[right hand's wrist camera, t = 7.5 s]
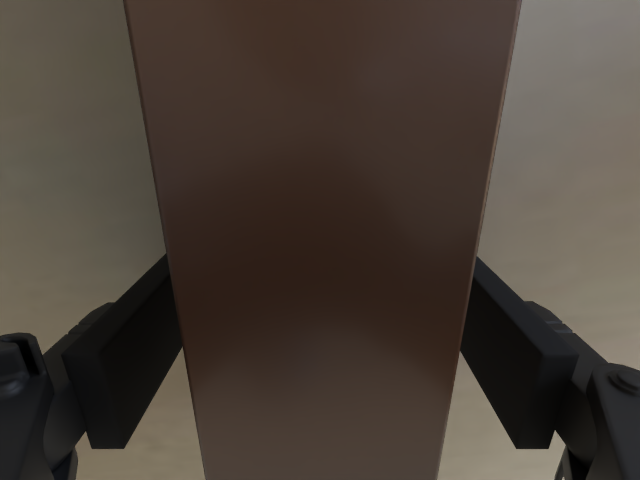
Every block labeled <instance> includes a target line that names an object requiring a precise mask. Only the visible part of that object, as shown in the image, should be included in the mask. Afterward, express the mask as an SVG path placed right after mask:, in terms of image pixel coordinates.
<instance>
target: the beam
mask: <svg viewBox="0 0 640 480" xmlns="http://www.w3.org/2000/svg"><path fill="white" fill-rule="evenodd" d="M123 2H124V8H125V14H126V20H127V26H128V31H129V37H130V43H131V49H132V55H133V61H134V66H135V72H136V78H137V84H138V90H139V95H140V101H141V107H142V113H143V119H144V124H145V130H146V136H147V142H148V148H149V153H150V159H151V165H152V171H153V177H154V183H155V188H156V194H157V200H158V206H159V212H160V217H161V223H162V229H163V235H164V241H165V246H166V252H167V258H168V264H169V270H170V275H171V281H172V287H173V293H174V299H175V304H176V310H177V316H178V322H179V328H180V334H181V339H182V345H183V351H184V357H185V363H186V368H187V374H188V380H189V386H190V392H191V397H192V403H193V409H194V415H195V421H196V426H197V432H198V438H199V444H200V450H201V456H202V461H203V467H204V473H205V479H206V480H437V476H438V471H439V465H440V459H441V454H442V448H443V442H444V437H445V431H446V425H447V420H448V414H449V409H450V403H451V397H452V392H453V386H454V380H455V375H456V369H457V363H458V358H459V352H460V346H461V341H462V335H463V330H464V324H465V318H466V313H467V307H468V301H469V296H470V290H471V284H472V279H473V273H474V268H475V262H476V256H477V251H478V245H479V239H480V234H481V228H482V222H483V217H484V211H485V206H486V200H487V194H488V189H489V183H490V177H491V172H492V166H493V160H494V155H495V149H496V143H497V138H498V132H499V127H500V121H501V115H502V110H503V104H504V98H505V93H506V87H507V81H508V76H509V70H510V65H511V59H512V53H513V48H514V42H515V36H516V31H517V25H518V19H519V14H520V8H521V2H522V0H123Z"/></svg>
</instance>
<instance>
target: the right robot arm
mask: <svg viewBox="0 0 640 480" xmlns="http://www.w3.org/2000/svg"><path fill="white" fill-rule="evenodd" d="M182 346H183V345H182V339H181V334H180V328H179V322H178V316H177V310H176V304H175V299H174V293H173V287H172V281H171V275H170V270H169V264H168V258H167V253H166V254H165V255H164V256H163V257H162V258H161V259H160V260H159V261H158V262H157V263H156V264H155V265H154V266H153V267H152V268H151V269H149V270H148V271H147V272H146V273H145V274H144V275H143V276H142V277H141V278H140V279H139V280H138V281H137V282H136V283H135V284H134V285H133V286H132V287H131V288H130V289H129V290H128V291H127V292H125V293H124V294H123V295H122V296H121V297H120V298H119V299H118V300H117V301H116V302H115V303H106V304H104V305H103V306H101V307H99V308H97V309H95V310H93V311H92V312H90V313H89V314H88V315H87V316H86V317H85V318H83V319H82V320H81V321H80V322H79V324H78V325H76V326H75V327H73V328H72V329H71V330H70V331H69V332H68V334H66V335H65V336H63V337H62V338H61V339H60V340H59V341H58V342H57V343H56V344H55V345H53V346H52V347H51V348H50V349H49V350H48V351H47V352H46V353H45V354H43V355H42V353H41V350H40V347H39V345H38V342H37V339H36V337H35V336H33V335H32V334H30V333H13V334H6V335H2V336H0V480H76V473H77V465H78V457H77V452H76V449H75V445H76V444H77V442H78V441H79V440H80V438H81V437H82V435H83V434H84V433H85V431H86V433H87V436H88V439H89V442H90V445H91V448H92V449H124V448H125V446H126V444H127V443H128V441H129V439H130V437H131V436H132V434H133V432H134V430H135V429H136V427H137V425H138V423H139V422H140V420H141V418H142V416H143V415H144V413H145V411H146V409H147V408H148V406H149V404H150V402H151V401H152V399H153V397H154V395H155V394H156V392H157V390H158V388H159V387H160V385H161V383H162V381H163V380H164V378H165V376H166V374H167V373H168V371H169V369H170V367H171V366H172V364H173V362H174V360H175V359H176V357H177V355H178V353H179V352H180V350H181V348H182ZM460 351H461V353H462V355H463V357H464V358H465V360H466V362H467V364H468V365H469V367H470V369H471V371H472V372H473V374H474V376H475V378H476V379H477V381H478V383H479V385H480V386H481V388H482V390H483V392H484V393H485V395H486V397H487V399H488V400H489V402H490V404H491V406H492V407H493V409H494V411H495V412H496V414H497V416H498V418H499V419H500V421H501V423H502V425H503V426H504V428H505V430H506V432H507V433H508V435H509V437H510V439H511V440H512V442H513V444H514V446H515V447H516V449H549V446H550V443H551V440H552V437H553V434H554V431H555V430H556V432H557V433H558V434H559V436H560V437H561V439H562V440H563V441H564V443H565V444H566V446H565V449H564V452H563V455H562V458H561V460H560V463H559V466H558V469H557V472H556V474H555V479H554V480H562V477H564V479H565V480H640V371H639V370H636V369H633V368H630V367H627V366H624V365H619V364H613V363H608V362H607V361H606V360H605V359H603V358H602V357H601V356H600V355H599V354H598V353H597V352H596V351H594V350H593V349H592V348H591V347H590V346H589V345H588V344H587V343H585V342H584V341H583V340H582V339H581V338H580V337H579V336H578V335H576V334H575V333H572V330H571V329H570V328H569V327H567V326H566V325H565V324H562V321H561V320H560V319H559V318H557V317H556V316H555V315H554V314H553V313H552V312H551V311H549V310H548V309H546V308H544V307H542V306H540V305H538V304H536V303H535V302H533V301H523V300H522V299H521V298H520V297H519V296H518V295H517V294H516V293H515V292H514V291H513V290H512V289H511V288H510V287H509V286H507V285H506V284H505V283H504V282H503V281H502V280H501V279H500V278H499V277H498V276H497V275H496V274H495V273H494V272H493V271H492V270H491V269H490V268H489V267H488V266H487V265H486V264H485V263H483V262H482V261H481V260H480V259H479V258H478V257H477V256H476V262H475V268H474V273H473V279H472V284H471V290H470V296H469V301H468V307H467V313H466V318H465V324H464V330H463V335H462V341H461V346H460Z"/></svg>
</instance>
